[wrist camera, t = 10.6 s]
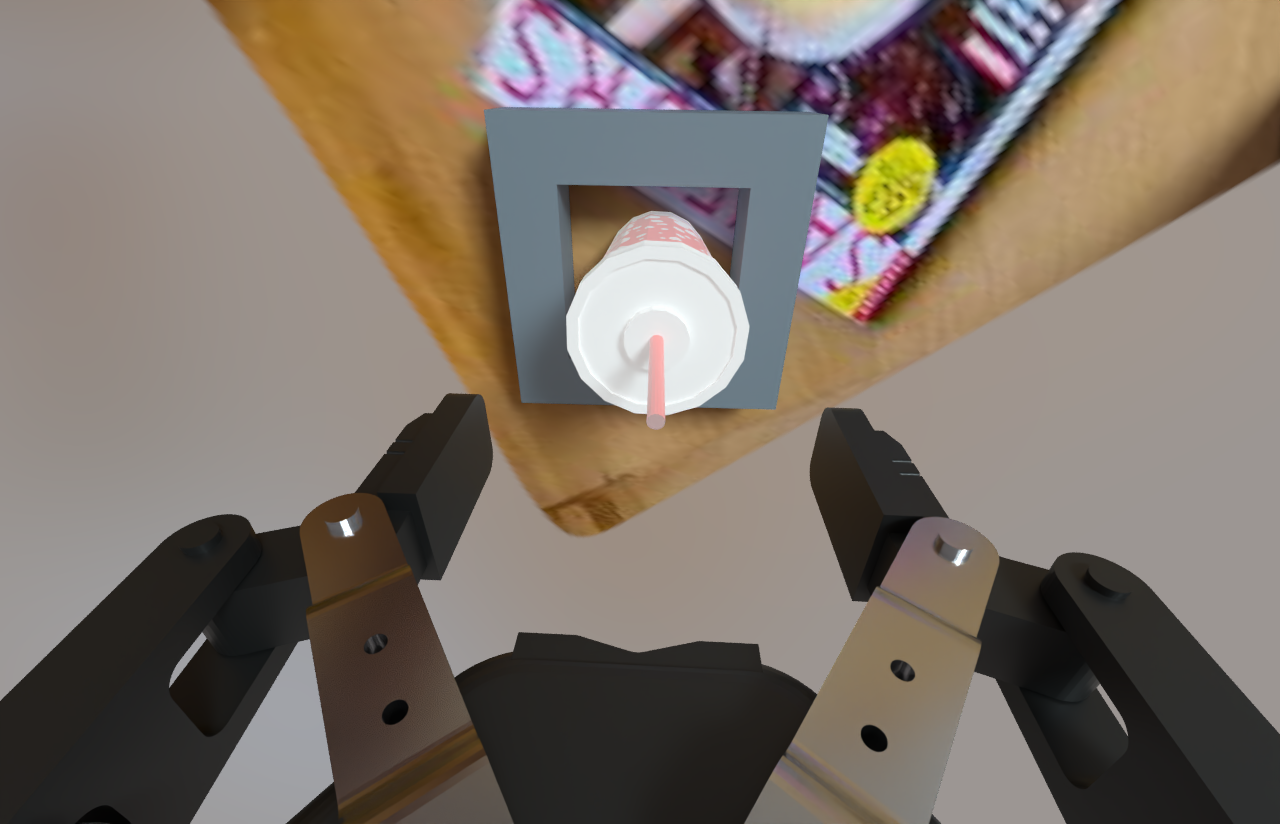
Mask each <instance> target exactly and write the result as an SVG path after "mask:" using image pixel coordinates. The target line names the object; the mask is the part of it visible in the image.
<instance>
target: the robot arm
mask: <svg viewBox="0 0 1280 824" xmlns="http://www.w3.org/2000/svg"><path fill="white" fill-rule="evenodd" d="M492 460H493V449H492V442H491V437H490V431H489V425H488V419H487V414H486V408H485V403H484V399H483V397H482V396H481V395H479V394H452V393H449V394H447V395H446V396H445V397H444V398H443V400H442V401H441V403H440V404H439V405H438V407H437V408H436V410H435V411H434V412H433V413H425V414H423V415H421V416H420V417H418V418H417V419H415V420H414V421H412V422H411V423H409V424H408V425H406V427H405V428H404V429H403V430H402V432H401V433H400V434H399V436H398V437H397V438H396V442H393V443H392V445H391V446H390V447H389V449H388V450H387V454H384V455H383V457H382V458H381V459H380V461H379V462H378V463H377V464H376V466H375V467H374V468H373V470H372V471H371V472H370V474H369V475H368V476H367V477H366V479H365V480H364V481H363V483H362V484H361V485H360V487H359V488H358V489H357V491H356V492H355V493H351V494H346V495H342V496H338V497H336V498H333V499H330V500H328V501H326V502H324V503H322V504H321V505H319V506H318V507H316V508H315V509H314V510H312V511H311V512H310V513H309V514H308V515H307V516H306V518H305V519H304V520H303V522H302V524H301V526H296V527H291V528H285V529H280V530H274V531H269V532H263V533H258V534H255V532H254V530H253V528H252V526H251V524H250V522H249V521H248V520H247V519H246V518H244V517H242V516H239V515H232V514H226V515H217V516H213V517H209V518H205V519H202V520H199V521H196V522H194V523H191V524H189V525H187V526H185V527H184V528H181V529H180V530H178V531H177V532H175V533H173V534H172V535H171V536H169V537H168V538H167V539H165V540H164V541H163V542H162V543H161V544H160V545H159V546H158V547H157V548H156V549H155V550H154V551H153V552H152V553H151V554H150V555H149V556H148V557H147V558H146V559H145V560H144V561H143V562H142V563H141V564H140V565H139V566H138V567H136V568H135V569H134V570H133V571H132V572H131V573H130V574H129V575H128V577H126V578H125V579H124V580H123V581H122V582H121V583H120V584H119V585H118V586H117V587H116V588H115V589H114V590H113V591H112V592H111V593H110V594H109V595H108V596H107V597H106V598H105V599H104V600H103V601H102V602H101V603H100V604H99V605H98V606H97V607H96V608H95V609H94V610H93V611H92V612H91V613H90V614H89V615H87V617H86V618H84V619H83V621H81V622H80V624H78V625H77V626H76V627H75V628H74V629H73V630H72V631H71V632H70V633H69V634H68V635H67V636H66V637H65V638H64V639H63V640H62V641H61V642H60V643H59V644H58V645H57V646H56V647H55V648H54V649H53V650H52V651H51V652H50V653H49V654H48V655H47V656H46V657H45V658H44V659H43V660H42V661H41V662H40V663H38V665H36V666H35V668H34V669H33V670H31V671H30V672H29V673H28V674H27V675H26V676H25V677H24V678H23V679H22V680H21V681H20V682H19V683H18V684H17V685H16V686H15V687H14V688H13V689H12V690H11V691H10V692H9V693H8V694H7V695H6V696H5V697H4V698H3V699H2V700H1V701H0V824H190V822H191V821H192V819H193V817H194V816H195V814H196V812H197V811H198V809H199V807H200V806H201V804H202V802H203V800H204V799H205V797H206V796H207V794H208V792H209V790H210V789H211V787H212V786H213V784H214V782H215V781H216V779H217V777H218V775H219V774H220V772H221V770H222V769H223V767H224V765H225V764H226V762H227V760H228V759H229V757H230V755H231V753H232V752H233V750H234V749H235V747H236V745H237V743H238V742H239V740H240V739H241V737H242V735H243V733H244V732H245V730H246V728H247V727H248V725H249V723H250V722H251V720H252V718H253V717H254V715H255V713H256V712H257V710H258V708H259V707H260V705H261V703H262V702H263V700H264V698H265V697H266V695H267V693H268V691H269V690H270V688H271V686H272V684H273V683H274V681H275V680H276V678H277V676H278V675H279V673H280V671H281V670H282V668H283V666H284V665H285V663H286V661H287V660H288V658H289V656H290V655H291V653H292V651H293V649H294V647H295V646H296V644H297V643H298V642H299V641H303V640H308V639H310V642H311V649H312V655H313V660H314V666H315V672H316V678H317V684H318V690H319V696H320V702H321V708H322V714H323V720H324V726H325V732H326V738H327V743H328V750H329V755H330V761H331V767H332V773H333V779H334V782H333V783H332V784H331V785H330V786H328V787H327V788H326V789H325V790H324V791H323V792H322V793H320V794H319V795H318V796H317V797H316V798H315V799H314V800H312V801H311V802H310V803H309V804H308V805H307V806H306V807H304V808H303V809H302V810H301V811H300V812H299V813H298V814H297V815H295V816H294V817H293V818H292V819H291V820H290V821H289V822H287V823H286V824H941V823H940V822H939V821H938V820H937V819H936V818H935V817H934V816H933V814H932V811H933V808H934V805H935V801H936V798H937V794H938V791H939V788H940V784H941V781H942V777H943V774H944V771H945V767H946V764H947V761H948V757H949V754H950V750H951V747H952V744H953V740H954V737H955V734H956V730H957V727H958V724H959V720H960V717H961V713H962V709H963V707H964V703H965V700H966V696H967V693H968V690H969V686H970V683H971V680H972V676H973V673H974V672H977V673H980V674H983V675H986V676H989V677H993V678H995V679H996V681H997V683H998V685H999V687H1000V689H1001V691H1002V693H1003V695H1004V697H1005V699H1006V701H1007V703H1008V705H1009V707H1010V709H1011V712H1012V714H1013V715H1014V718H1015V720H1016V722H1017V724H1018V726H1019V728H1020V730H1021V732H1022V734H1023V736H1024V738H1025V740H1026V742H1027V744H1028V746H1029V748H1030V750H1031V752H1032V754H1033V756H1034V759H1035V761H1036V763H1037V765H1038V767H1039V768H1040V771H1041V773H1042V775H1043V777H1044V779H1045V781H1046V783H1047V785H1048V787H1049V789H1050V791H1051V793H1052V795H1053V797H1054V799H1055V802H1056V804H1057V806H1058V808H1059V810H1060V812H1061V814H1062V816H1063V818H1064V820H1065V822H1066V824H1280V734H1279V733H1278V732H1277V731H1276V730H1275V728H1274V727H1273V726H1272V725H1271V724H1270V723H1269V722H1268V720H1266V718H1265V717H1264V716H1263V715H1262V714H1261V713H1260V712H1259V710H1258V709H1257V708H1256V707H1255V706H1254V705H1253V704H1252V703H1251V701H1250V700H1249V699H1248V698H1247V697H1246V696H1245V694H1244V693H1243V692H1242V691H1241V690H1240V689H1239V688H1238V687H1237V686H1236V684H1235V683H1234V682H1233V681H1232V680H1231V679H1230V678H1229V676H1228V675H1226V673H1225V672H1224V671H1223V670H1222V669H1221V667H1220V666H1219V665H1218V664H1217V663H1216V662H1215V661H1214V660H1213V658H1212V657H1211V656H1210V655H1209V654H1208V653H1207V652H1206V651H1205V649H1204V648H1203V647H1202V646H1201V645H1200V644H1199V643H1198V641H1197V640H1196V639H1195V638H1194V637H1193V636H1192V635H1191V633H1190V632H1189V631H1188V630H1187V629H1186V628H1185V627H1184V626H1183V625H1182V623H1181V622H1180V621H1179V620H1178V619H1177V618H1176V617H1175V615H1174V614H1173V613H1172V612H1171V611H1170V610H1169V609H1168V607H1167V606H1166V605H1165V604H1164V603H1163V602H1162V601H1161V600H1160V598H1159V597H1158V596H1157V595H1156V594H1155V593H1154V592H1153V591H1152V589H1150V587H1149V586H1147V584H1146V583H1145V582H1143V581H1142V580H1141V579H1140V578H1138V577H1137V576H1136V575H1134V574H1133V573H1131V572H1130V571H1128V570H1126V569H1125V568H1123V567H1121V566H1119V565H1117V564H1115V563H1113V562H1111V561H1109V560H1106V559H1104V558H1101V557H1098V556H1094V555H1090V554H1085V553H1066V554H1063V555H1061V556H1059V557H1058V558H1057V559H1056V560H1055V562H1054V563H1053V565H1052V566H1051V568H1050V570H1047V569H1044V568H1040V567H1036V566H1032V565H1028V564H1025V563H1021V562H1017V561H1014V560H1010V559H1006V558H1003V557H1000V556H999V555H998V553H997V550H996V549H995V547H994V546H993V544H992V543H991V542H990V541H989V540H988V539H987V538H986V537H985V536H984V535H982V534H981V533H980V532H978V531H977V530H975V529H974V528H972V527H970V526H968V525H966V524H964V523H961V522H959V521H956V520H952V519H949V517H948V516H947V514H946V513H945V511H944V510H943V508H942V507H941V505H940V503H939V502H938V500H937V499H936V497H935V496H934V494H933V493H932V491H931V490H930V488H929V486H928V485H927V483H926V482H925V480H924V479H923V477H922V476H920V475H919V471H918V470H917V468H916V466H915V465H914V464H913V463H911V459H910V457H909V456H908V454H907V453H906V451H905V449H904V448H903V447H902V445H901V444H900V443H899V442H897V441H896V440H895V439H893V438H892V437H891V436H889V435H888V434H887V433H886V432H884V431H874V429H873V428H872V426H871V424H870V423H869V421H868V419H867V418H866V416H865V414H864V412H863V411H862V410H861V409H852V408H826V409H825V410H824V411H823V414H822V417H821V421H820V426H819V429H818V433H817V438H816V441H815V446H814V450H813V454H812V458H811V463H810V481H811V486H812V490H813V492H814V495H815V498H816V501H817V503H818V506H819V509H820V512H821V515H822V518H823V520H824V523H825V526H826V529H827V531H828V534H829V537H830V540H831V543H832V545H833V548H834V551H835V554H836V556H837V559H838V562H839V565H840V568H841V570H842V573H843V576H844V579H845V582H846V585H847V587H848V590H849V593H850V596H851V599H852V601H862V602H868V603H867V605H866V607H865V608H864V610H863V612H862V614H861V616H860V618H859V619H858V621H857V623H856V625H855V627H854V628H853V630H852V632H851V634H850V636H849V638H848V640H847V641H846V643H845V645H844V647H843V649H842V651H841V652H840V654H839V656H838V658H837V660H836V662H835V663H834V665H833V667H832V669H831V671H830V673H829V674H828V676H827V678H826V680H825V682H824V684H823V685H822V687H821V689H820V691H819V693H818V695H817V694H816V693H815V692H813V691H812V690H811V689H810V688H808V687H807V686H805V685H804V684H802V683H801V682H800V681H798V680H796V679H794V678H793V677H791V676H789V675H787V674H785V673H783V672H781V671H779V670H776V669H774V668H772V667H769V666H766V665H763V664H761V660H760V659H761V658H760V652H759V646H758V644H744V643H725V642H704V641H697V642H692V643H687V644H682V645H677V646H672V647H667V648H662V649H657V650H652V651H647V652H640V653H637V652H631V651H627V650H624V649H621V648H617V647H614V646H611V645H607V644H604V643H600V642H598V641H594V640H591V639H587V638H584V637H581V636H578V635H563V634H542V633H522V632H519V633H518V636H517V640H516V644H515V647H514V651H513V652H510V653H505V654H502V655H498V656H495V657H492V658H489V659H487V660H485V661H483V662H480V663H478V664H476V665H474V666H472V667H470V668H469V669H467V670H465V671H463V672H462V673H460V674H459V675H458V676H456V677H455V678H454V676H453V674H452V671H451V668H450V666H449V663H448V660H447V658H446V655H445V653H444V650H443V648H442V645H441V643H440V640H439V638H438V635H437V633H436V630H435V628H434V625H433V623H432V621H431V618H430V615H429V613H428V610H427V608H426V605H425V603H424V601H423V598H422V595H421V593H420V590H419V588H418V583H419V581H420V579H425V580H441V579H442V576H443V574H444V572H445V570H446V568H447V566H448V563H449V561H450V559H451V557H452V555H453V552H454V550H455V548H456V546H457V544H458V541H459V539H460V537H461V535H462V533H463V531H464V528H465V526H466V524H467V522H468V519H469V517H470V515H471V513H472V510H473V509H474V506H475V504H476V502H477V500H478V498H479V496H480V493H481V491H482V489H483V487H484V485H485V482H486V480H487V478H488V476H489V474H490V471H491V467H492ZM202 632H203V633H204V635H205V636H206V638H207V639H206V641H205V642H204V643H203V645H202V646H201V647H200V649H199V650H198V651H197V653H196V654H195V655H194V656H193V658H192V659H191V660H190V662H189V663H188V664H187V666H186V667H185V668H184V669H183V671H182V672H181V673H180V675H179V676H178V677H177V679H176V680H175V681H174V683H173V684H172V685H171V687H170V688H169V683H170V678H171V675H172V673H173V671H174V668H175V667H176V665H177V664H178V662H179V661H180V659H181V658H182V657H183V656H184V654H185V653H186V651H188V649H189V648H190V647H191V645H192V644H193V643H194V642H195V640H196V639H197V638H198V636H199V635H200V634H201V633H202ZM1099 684H1101V686H1102V687H1103V689H1104V690H1105V692H1106V693H1107V695H1108V696H1109V698H1110V699H1111V701H1112V702H1113V704H1114V705H1115V707H1116V708H1117V710H1118V711H1119V713H1120V714H1121V716H1122V718H1123V720H1124V722H1125V725H1126V728H1127V732H1128V736H1127V734H1126V733H1125V731H1124V730H1123V728H1122V727H1121V725H1120V724H1119V722H1118V720H1117V719H1116V717H1115V716H1114V714H1113V713H1112V711H1111V710H1110V708H1109V707H1108V705H1107V704H1106V702H1105V700H1104V699H1103V697H1102V696H1101V694H1100V693H1099V691H1098V690H1097V688H1096V687H1097V686H1098V685H1099Z"/></svg>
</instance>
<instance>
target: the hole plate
mask: <svg viewBox="0 0 1280 824" xmlns="http://www.w3.org/2000/svg"><path fill="white" fill-rule="evenodd" d="M484 114H485V122H486V130H487V137H488V145H489V153H490V161H491V168H492V176H493V184H494V192H495V200H496V207H497V215H498V223H499V231H500V238H501V246H502V254H503V262H504V270H505V277H506V285H507V293H508V301H509V308H510V316H511V324H512V332H513V339H514V347H515V355H516V363H517V371H518V378H519V386H520V394H521V402H522V403H551V404H589V405H614V404H611V403H609V402H607V401H604V400H603V399H602V398H601V397H600V396H599V395H598V394H597V393H596V392H595V391H594V390H593V389H592V388H590V387H589V386H588V385H587V384H586V383H585V382H584V381H583V380H582V379H581V378H580V376H579V373H578V371H577V369H576V367H575V365H574V363H573V361H572V359H571V356H570V354H569V352H568V350H567V326H566V316H567V313H568V311H569V308H570V306H571V304H572V301H573V299H574V296H575V288H574V270H573V253H572V235H571V218H570V200H569V185H609V186H663V187H717V188H739V195H738V204H737V213H736V223H735V232H734V241H733V251H732V260H731V270H730V278H731V279H732V281H733V282H734V283H735V284H736V285H737V288H738V289H739V290H740V293H741V296H742V300H743V303H744V307H745V311H746V315H747V319H748V323H749V326H750V328H749V334H748V339H747V345H746V351H745V356H744V360H743V362H742V364H741V365H740V367H739V368H738V370H737V371H736V373H735V374H734V376H733V377H732V379H731V380H730V382H729V383H728V385H727V386H726V388H724V389H723V390H721V391H720V392H719V393H717V394H716V395H714V396H713V397H712V398H710V399H709V400H707V401H706V402H705V403H703V404H702V405H700V406H699V407H701V408H739V409H776V404H777V399H778V393H779V387H780V382H781V376H782V371H783V365H784V360H785V354H786V349H787V343H788V338H789V332H790V326H791V321H792V315H793V310H794V304H795V299H796V293H797V288H798V282H799V276H800V271H801V265H802V260H803V254H804V249H805V243H806V238H807V232H808V227H809V221H810V215H811V210H812V204H813V199H814V193H815V188H816V182H817V177H818V171H819V165H820V160H821V154H822V149H823V143H824V138H825V132H826V127H827V121H828V116H829V115H824V114H818V113H812V112H781V111H717V110H653V109H589V108H525V107H502V108H494V109H486V110H484Z"/></svg>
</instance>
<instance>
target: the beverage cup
mask: <svg viewBox="0 0 1280 824" xmlns="http://www.w3.org/2000/svg"><path fill="white" fill-rule="evenodd" d="M566 326H567V350H568V352H569V354H570V356H571V359H572V361H573V363H574V365H575V367H576V369H577V371H578V373H579V376H580V378H581V379H582V380H583V381H584V382H585V383H586V384H587V385H588V386H589V387H590V388H592V389H593V390H594V391H595V392H596V393H597V394H598V395H599V396H600V397H601V398H602V399H603V400H604V401H607V402H609V403H611V404H614V405H616V406H619V407H621V408H623V409H626V410H628V411H631V412H633V413H639V414H647V425H648V426H649V427H650V428H651V429H656V430H657V429H661V428H662V427H663V426H664V425H665V415H670V414H674V413H677V412H681V411H684V410H688V409H691V408H695V407H699V406H700V405H702V404H703V403H705V402H706V401H707V400H709V399H710V398H712V397H713V396H714V395H716V394H717V393H719V392H720V391H721V390H723V389H724V388H726V386H727V385H728V383H729V382H730V380H731V379H732V377H733V376H734V374H735V373H736V371H737V370H738V368H739V367H740V365H741V364H742V362H743V360H744V356H745V351H746V345H747V339H748V334H749V328H750V326H749V323H748V319H747V315H746V311H745V307H744V303H743V300H742V296H741V293H740V290H739V289H738V288H737V285H736V284H735V283H734V282H733V281H732V279H731V278H730V277H729V276H728V274H727V273H726V272H725V271H724V270H723V268H722V267H721V266H720V265H719V263H718V262H717V261H716V260H715V259H714V258H712V256H711V254H710V253H709V251H708V249H707V247H706V245H705V244H704V242H703V240H702V238H701V236H700V235H699V234H698V233H697V231H696V230H695V229H694V228H693V226H692V225H691V224H690V223H689V222H688V221H687V220H685V219H683V218H681V217H679V216H677V215H675V214H673V213H671V212H660V211H650V212H647V213H644V214H641V215H639V216H636V217H633V218H632V219H631V220H630V221H629V222H628V223H627V224H626V225H624V226H623V227H622V228H621V229H620V230H619V231H618V233H617V235H616V236H615V238H614V240H613V242H612V243H611V245H610V247H609V249H608V250H607V252H606V254H605V256H604V257H603V259H602V260H601V261H600V262H599V263H598V264H597V265H596V266H595V267H594V268H593V269H591V270H590V271H589V272H588V273H587V274H586V275H585V276H584V277H583V280H582V281H581V282H580V285H579V287H578V289H577V292H576V294H575V296H574V299H573V301H572V304H571V306H570V308H569V311H568V313H567V316H566Z"/></svg>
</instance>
